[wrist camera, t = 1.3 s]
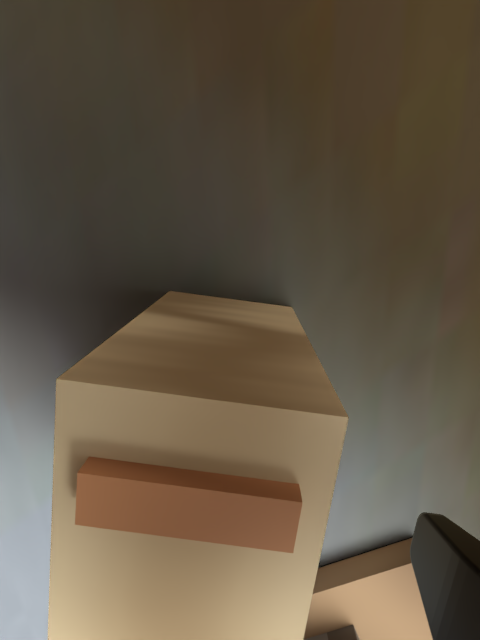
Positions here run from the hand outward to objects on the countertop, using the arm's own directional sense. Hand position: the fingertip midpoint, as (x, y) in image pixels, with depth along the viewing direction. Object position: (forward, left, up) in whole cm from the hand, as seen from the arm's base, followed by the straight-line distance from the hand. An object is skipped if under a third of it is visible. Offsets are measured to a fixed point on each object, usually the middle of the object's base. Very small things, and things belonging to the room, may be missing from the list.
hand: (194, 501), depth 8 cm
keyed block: (0, 0, -6) cm, 6 cm away
